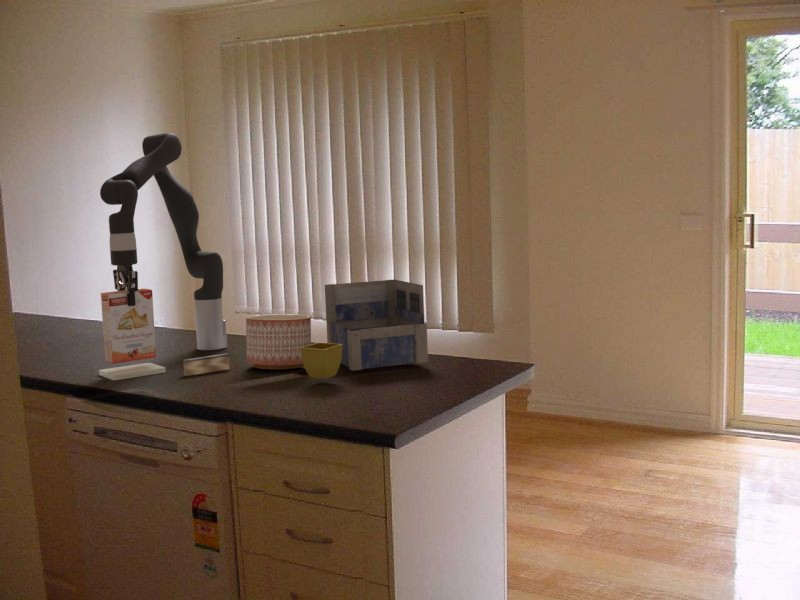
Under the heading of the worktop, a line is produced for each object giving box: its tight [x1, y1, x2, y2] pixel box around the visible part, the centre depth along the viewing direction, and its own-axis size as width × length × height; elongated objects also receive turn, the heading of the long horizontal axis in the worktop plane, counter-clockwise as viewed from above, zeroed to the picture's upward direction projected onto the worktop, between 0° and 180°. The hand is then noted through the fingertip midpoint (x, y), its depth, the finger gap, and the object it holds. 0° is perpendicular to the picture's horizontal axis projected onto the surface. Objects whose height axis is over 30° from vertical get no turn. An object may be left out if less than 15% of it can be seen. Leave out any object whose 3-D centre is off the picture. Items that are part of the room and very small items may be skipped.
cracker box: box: [100, 288, 157, 365], centre depth 281 cm, size 14×6×21 cm, turn 132°
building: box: [324, 279, 429, 372], centre depth 288 cm, size 23×24×23 cm
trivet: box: [98, 362, 167, 381], centre depth 282 cm, size 16×12×2 cm
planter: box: [245, 313, 312, 370], centre depth 283 cm, size 19×19×15 cm
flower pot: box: [300, 342, 342, 380], centre depth 265 cm, size 9×9×9 cm
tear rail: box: [182, 353, 231, 377], centre depth 280 cm, size 14×2×5 cm, turn 127°
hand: (127, 304), depth 280 cm, fingers closed on cracker box, 6 cm apart
